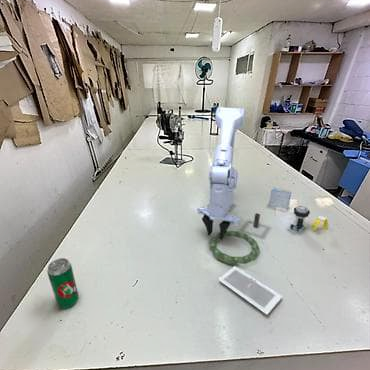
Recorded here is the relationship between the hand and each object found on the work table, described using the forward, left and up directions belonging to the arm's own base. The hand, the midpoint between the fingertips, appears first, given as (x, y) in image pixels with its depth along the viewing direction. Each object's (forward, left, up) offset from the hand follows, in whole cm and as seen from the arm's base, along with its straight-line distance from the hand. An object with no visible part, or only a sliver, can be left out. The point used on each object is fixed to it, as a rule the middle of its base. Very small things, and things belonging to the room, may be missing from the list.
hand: (215, 236), depth 82 cm
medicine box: (+12, +39, -3) cm, 41 cm away
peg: (+9, +16, -3) cm, 19 cm away
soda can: (-20, -43, -3) cm, 48 cm away
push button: (+23, +24, -3) cm, 33 cm away
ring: (+7, 0, -1) cm, 7 cm away
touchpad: (+17, -14, -3) cm, 22 cm away
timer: (+29, +28, -1) cm, 41 cm away
